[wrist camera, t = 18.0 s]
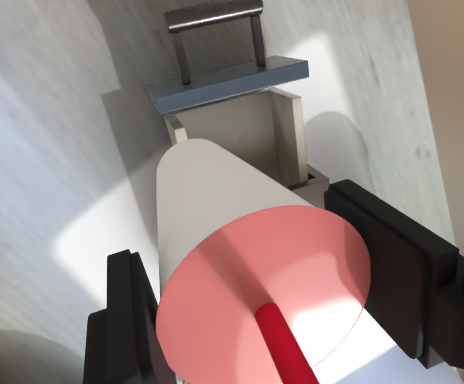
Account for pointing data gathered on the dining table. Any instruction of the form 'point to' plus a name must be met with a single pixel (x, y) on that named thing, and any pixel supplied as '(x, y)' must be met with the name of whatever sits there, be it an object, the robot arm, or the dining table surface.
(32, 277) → the dining table surface
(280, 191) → the cup
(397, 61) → the dining table surface
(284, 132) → the drawer
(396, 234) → the robot arm
